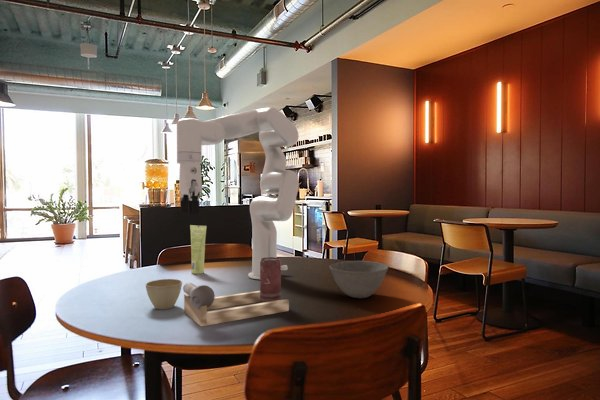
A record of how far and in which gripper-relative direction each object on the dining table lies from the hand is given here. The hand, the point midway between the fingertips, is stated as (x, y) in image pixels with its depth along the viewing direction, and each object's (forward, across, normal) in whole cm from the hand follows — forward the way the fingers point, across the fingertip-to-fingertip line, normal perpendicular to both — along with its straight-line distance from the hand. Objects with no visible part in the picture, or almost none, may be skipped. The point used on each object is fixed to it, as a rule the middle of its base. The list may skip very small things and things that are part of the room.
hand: (189, 213), depth 130 cm
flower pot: (+27, -8, +10) cm, 30 cm away
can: (+27, -22, -18) cm, 39 cm away
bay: (+27, -23, -6) cm, 36 cm away
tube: (+27, +35, -13) cm, 46 cm away
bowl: (+27, -26, -47) cm, 60 cm away
